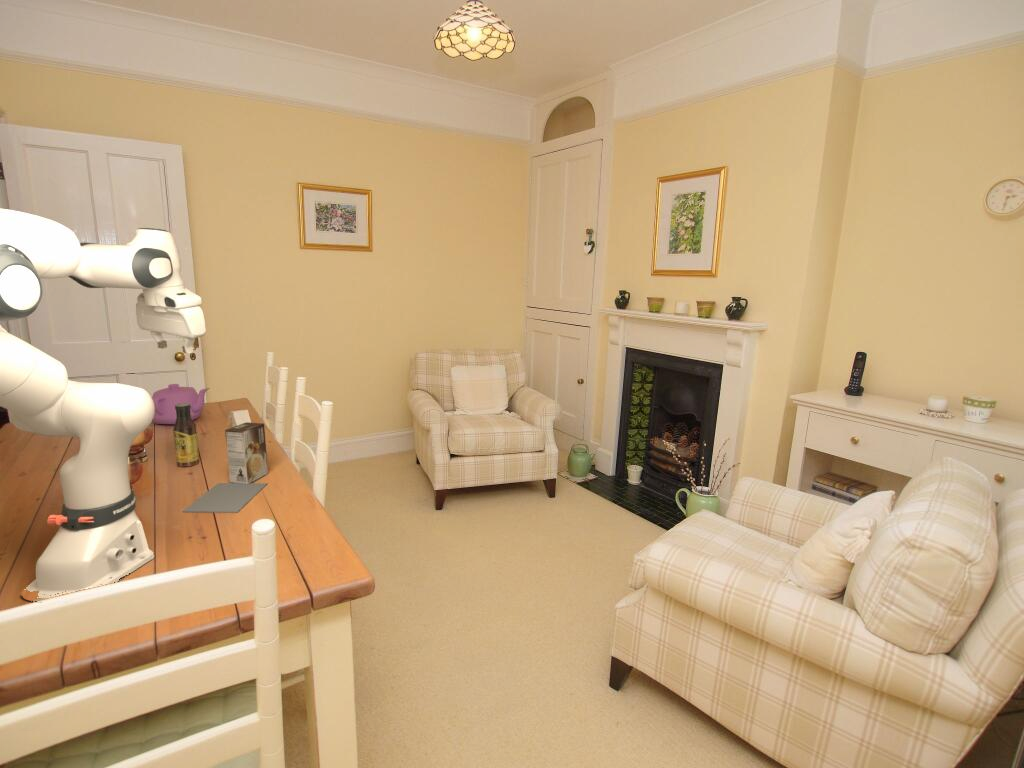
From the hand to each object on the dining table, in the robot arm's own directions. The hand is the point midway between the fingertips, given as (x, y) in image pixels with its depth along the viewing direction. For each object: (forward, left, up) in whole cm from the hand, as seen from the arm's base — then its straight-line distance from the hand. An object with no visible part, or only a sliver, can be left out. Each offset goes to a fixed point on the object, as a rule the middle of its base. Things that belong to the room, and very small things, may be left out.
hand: (175, 350), depth 134 cm
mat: (+1, -9, -41) cm, 42 cm away
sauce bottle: (+25, +15, -41) cm, 50 cm away
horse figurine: (+49, +9, -41) cm, 65 cm away
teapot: (+72, +45, -41) cm, 94 cm away
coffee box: (+14, -9, -41) cm, 44 cm away
